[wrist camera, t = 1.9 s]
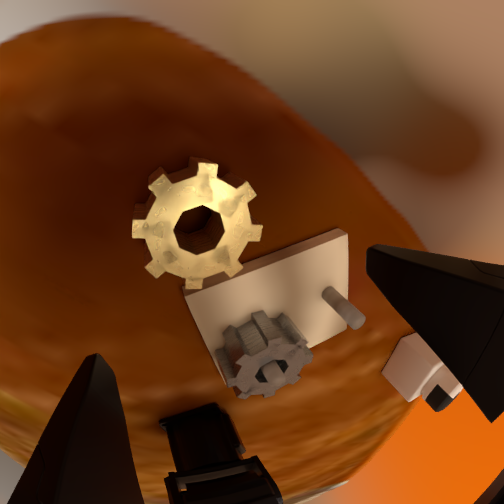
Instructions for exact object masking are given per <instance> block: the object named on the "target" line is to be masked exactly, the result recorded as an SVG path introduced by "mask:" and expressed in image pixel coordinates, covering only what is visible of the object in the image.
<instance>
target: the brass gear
mask: <svg viewBox="0 0 504 504" xmlns="http://www.w3.org/2000/svg"><path fill="white" fill-rule="evenodd" d="M217 169H218V164H216V163H214V162H212V161H210V160H208V159H206V158H199V157H189V163H188V168H185V169H182V170H179V171H176V172H173V173H170V174H167V173H166V172H165V170H164V169H163V168H162V167H161V166H160V167H159V168H158V169H156V170H155V171H154V172H153V173H152V174H151V175H149V176H148V188H149V189H150V190H151V191H152V192H151V194H150V196H149V198H148V200H147V202H146V204H145V203H135V206H134V213H133V221H132V238H145V240H146V242H145V243H144V267H145V268H146V269H147V270H148V271H149V272H150V273H151V274H152V275H153V276H154V277H155V278H158V277H159V276H161V275H162V274H163V273H164V272H165V271H167V272H169V273H172V274H175V275H177V276H180V277H182V279H183V283H184V286H185V289H202V283H203V278H206V277H209V276H211V275H214V274H217V273H220V272H222V271H225V273H226V274H227V275H228V276H229V277H230V278H231V277H233V276H234V275H235V274H236V273H237V272H239V271H240V270H241V269H242V268H244V267H243V266H242V264H241V263H240V262H239V260H238V258H239V256H240V254H241V253H242V251H243V249H244V248H245V246H246V245H247V243H248V241H260V237H261V232H262V227H263V225H262V224H261V223H260V222H259V221H257V220H256V219H255V218H254V217H253V216H251V215H250V214H249V210H248V205H247V203H248V202H249V201H250V200H251V199H253V198H254V197H255V196H256V193H255V192H254V190H253V189H252V188H251V186H250V185H249V183H248V182H247V181H246V180H244V179H242V178H240V177H238V176H236V175H235V174H233V173H231V172H228V173H227V174H226V175H225V176H223V177H222V178H219V177H217V176H216V175H217ZM201 205H204V206H206V207H208V208H210V210H211V216H210V218H209V220H208V221H207V223H206V225H205V227H204V228H203V229H201V230H198V231H195V232H192V233H189V234H187V233H185V232H182V231H180V230H178V229H176V228H174V227H175V225H176V223H177V221H178V219H179V217H180V216H181V214H182V212H183V211H186V210H189V209H192V208H195V207H198V206H201Z"/></svg>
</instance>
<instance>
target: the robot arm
mask: <svg viewBox="0 0 504 504" xmlns="http://www.w3.org/2000/svg"><path fill="white" fill-rule="evenodd" d="M366 272H367V274H368V276H369V277H370V278H371V280H372V281H373V282H374V283H375V285H376V286H377V287H378V288H379V290H380V291H381V292H382V293H383V295H384V296H385V297H386V299H387V300H388V301H389V302H390V304H391V305H392V306H393V307H394V308H395V309H396V311H397V312H398V313H399V314H400V315H401V316H402V317H403V318H404V319H405V320H406V321H407V322H408V323H409V325H410V326H411V327H412V328H413V329H414V330H415V331H416V332H417V333H418V335H419V336H420V337H421V338H422V339H423V340H424V341H425V342H426V343H427V345H428V346H429V347H430V348H431V349H432V350H433V352H434V353H435V354H436V355H437V356H438V357H439V358H440V360H441V361H442V362H443V363H444V364H445V366H446V367H447V368H448V369H449V370H450V372H451V373H452V374H453V375H454V376H455V378H456V379H457V380H458V381H459V383H460V384H461V385H462V386H463V388H464V389H465V390H466V392H467V393H468V394H469V395H470V397H471V398H472V399H473V400H474V402H475V403H476V404H477V406H478V407H479V408H480V410H481V411H482V412H483V414H484V415H485V416H486V418H487V419H488V420H489V421H490V422H491V423H492V422H493V421H494V420H496V419H497V417H499V415H501V414H502V413H503V412H504V265H498V264H491V263H485V262H479V261H474V260H468V259H463V258H458V257H452V256H447V255H441V254H435V253H429V252H424V251H418V250H412V249H406V248H400V247H393V246H387V245H381V244H375V245H373V246H371V247H369V248H368V249H367V251H366ZM159 426H160V427H161V428H162V429H163V430H165V431H166V432H167V435H168V440H169V444H170V448H171V452H172V456H173V460H174V463H175V467H176V471H177V472H168V474H169V476H168V477H166V478H164V481H165V485H166V489H167V493H168V497H169V503H170V504H283V499H282V496H281V493H280V491H279V489H278V487H277V485H276V483H275V482H274V480H273V479H272V477H271V476H270V475H269V473H268V472H267V470H266V469H265V467H264V466H263V464H262V463H261V461H260V460H259V458H258V456H257V455H256V456H252V457H251V458H248V459H243V457H242V454H243V453H245V451H246V450H245V447H244V445H243V443H242V441H241V438H240V436H239V434H238V431H237V429H236V427H235V424H234V422H233V421H232V419H231V418H230V416H229V415H228V414H224V413H223V412H222V410H221V409H220V407H219V406H218V404H211V405H208V406H205V407H202V408H199V409H196V410H193V411H190V412H187V413H183V414H180V415H177V416H173V417H170V418H166V419H163V420H160V421H159ZM185 488H186V489H187V491H181V489H185ZM7 504H144V500H143V497H142V494H141V490H140V486H139V483H138V479H137V475H136V471H135V466H134V462H133V458H132V453H131V448H130V443H129V437H128V432H127V426H126V420H125V416H124V412H123V408H122V404H121V400H120V396H119V391H118V387H117V382H116V377H115V374H114V372H113V370H112V369H111V368H110V366H109V365H108V364H107V363H106V361H105V360H104V359H103V358H102V356H101V355H100V354H98V353H95V354H92V355H89V356H87V357H86V358H85V359H84V361H83V363H82V364H81V366H80V368H79V369H78V371H77V372H76V374H75V376H74V377H73V379H72V381H71V383H70V384H69V386H68V388H67V389H66V391H65V393H64V395H63V396H62V398H61V400H60V402H59V403H58V405H57V407H56V409H55V411H54V413H53V414H52V416H51V418H50V420H49V422H48V424H47V426H46V428H45V430H44V432H43V434H42V435H41V437H40V440H39V442H38V444H37V446H36V448H35V450H34V452H33V454H32V456H31V458H30V460H29V462H28V464H27V466H26V468H25V470H24V472H23V474H22V476H21V478H20V480H19V482H18V483H17V485H16V487H15V489H14V491H13V493H12V495H11V497H10V499H9V501H8V503H7ZM474 504H504V469H503V470H502V471H501V472H500V474H499V475H498V476H497V478H496V479H495V480H494V481H493V482H492V484H491V485H490V486H489V487H488V488H487V489H486V491H485V492H484V493H483V494H482V495H481V496H480V497H479V498H478V499H477V500H476V501H475V502H474Z"/></svg>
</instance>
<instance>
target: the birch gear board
mask: <svg viewBox="0 0 504 504" xmlns="http://www.w3.org/2000/svg"><path fill="white" fill-rule="evenodd" d="M242 266H243V267H244V268H242V269H241V270H240V271H239V272H237V273H236V274H235V275H234V276H233V277H231V278H230V277H229V276H228V275H227V274H226V273H225V271H223V272H220V273H217V274H214V275H212V276H209V277H206V278H204V279H203V283H202V289H185V286H182V290H183V293H184V297H185V299H186V302H187V304H188V306H189V308H190V311H191V313H192V315H193V317H194V320H195V322H196V324H197V326H198V329H199V331H200V333H201V335H202V337H203V339H204V341H205V344H206V346H207V348H208V350H209V352H210V354H211V356H212V358H213V360H214V362H215V364H216V366H217V368H218V370H219V372H220V374H221V376H222V378H223V375H222V373H221V370H220V368H219V365H218V362H217V360H216V356H215V350H216V349H221V348H223V347H224V345H225V342H226V341H225V339H224V337H223V334H222V333H223V332H224V330H225V329H226V328H227V327H228V326H229V325H232V326H234V327H236V328H237V327H239V326H241V325H243V324H244V323H246V322H248V321H250V320H251V313H253V312H257V311H262V310H264V312H265V313H266V315H267V316H268V318H277V317H278V316H279V315H280V314H281V313H284V314H285V315H287V316H288V317H290V319H291V320H292V321H293V323H294V324H295V325H296V326H297V328H298V329H299V330H300V332H301V333H302V334H303V335H304V337H305V338H306V339H307V341H308V343H307V344H306V346H307V347H308V348H311V347H313V346H315V345H317V344H319V343H321V342H323V341H325V340H327V339H328V338H330V337H332V336H334V335H336V334H338V333H340V332H342V331H343V330H345V329H346V326H347V323H348V324H349V325H350V327H351V328H352V329H354V330H355V329H358V328H360V327H361V326H362V325H363V324H364V322H365V319H366V318H365V316H364V315H363V314H362V313H361V312H360V311H359V310H358V309H357V308H355V307H354V306H353V305H352V304H351V303H350V302H349V301H348V234H347V233H345V232H344V231H342V230H340V229H339V228H337V229H334V230H331V231H329V232H326V233H324V234H321V235H318V236H316V237H313V238H310V239H308V240H305V241H303V242H300V243H297V244H295V245H292V246H289V247H287V248H284V249H281V250H279V251H276V252H273V253H271V254H268V255H265V256H263V257H260V258H257V259H255V260H252V261H249V262H247V263H244V264H242ZM260 368H261V370H262V372H263V374H264V376H265V378H266V379H267V381H268V383H269V385H270V386H271V387H278V386H280V385H282V384H283V383H284V382H285V381H286V377H285V375H284V374H283V372H282V371H281V369H280V367H279V366H278V364H277V362H276V361H275V360H272V361H270V362H268V363H266V364H265V365H263V366H261V367H260ZM223 380H224V378H223ZM224 382H225V380H224ZM225 384H226V383H225Z"/></svg>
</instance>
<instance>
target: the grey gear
mask: <svg viewBox="0 0 504 504" xmlns="http://www.w3.org/2000/svg"><path fill="white" fill-rule="evenodd" d="M222 334H223V337H224V339H225V341H226V342H225V345H224V347H223V348H221V349H216V350H215V356H216V360H217V362H218V365H219V368H220V370H221V373H222V375H223V378H224V380H225V383H226V385H227V387H233V389H234V391H235V394H236V396H237V397H238V398H242V399H247V398H248V397H249V396H250V395H256V394H262V395H263V397H264V398H266V397H270V396H273V395H275V390H277V389H279V388H281V387H283V386H284V385H286V384H288V383H290V384H294V383H295V382H297V381H298V380H299V379H300V378H301V376H300V375H299V372H300V370H301V369H302V367H303V366H304V365H305V364H308V363H311V362H312V358H313V353H312V352H311V351H310V350H309V348H308V347H307V346H306V344H307V343H308V341H307V339H306V338H305V337H304V335H303V334H302V333H301V332H300V330H299V329H298V328H297V326H296V325H295V324H294V323H293V321H292V320H291V319H290V317H288V316H287V315H285V314H284V313H281V314H280V315H279V316H278V317H277V318H268V316H267V315H266V313H265V312H264V310H262V311H257V312H253V313H251V320H250V321H248V322H246V323H244V324H243V325H241V326H239V327H237V328H236V327H234V326H232V325H229V326H228V327H227V328H226V329H225V330H224V332H223V333H222ZM272 360H275V361H276V362H277V364H278V366H279V367H280V369H281V371H282V372H283V374H284V375H285V377H286V381H285V382H284V383H283V384H282V385H280V386H278V387H271V386H270V385H269V383H268V381H267V379H266V378H265V376H264V374H263V372H262V370H261V368H260V367H261V366H263V365H265V364H266V363H268V362H270V361H272Z"/></svg>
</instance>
